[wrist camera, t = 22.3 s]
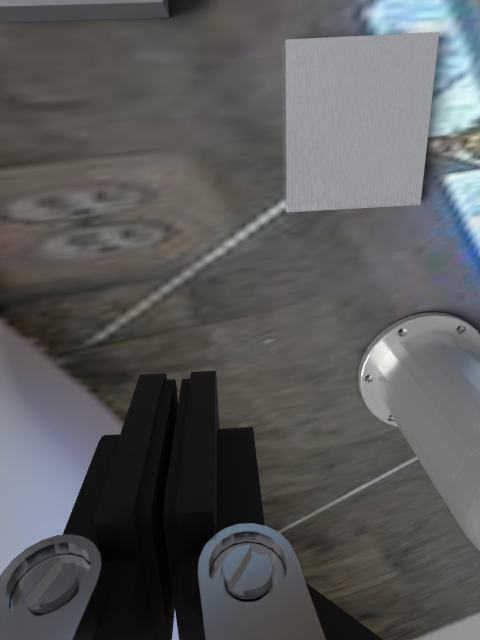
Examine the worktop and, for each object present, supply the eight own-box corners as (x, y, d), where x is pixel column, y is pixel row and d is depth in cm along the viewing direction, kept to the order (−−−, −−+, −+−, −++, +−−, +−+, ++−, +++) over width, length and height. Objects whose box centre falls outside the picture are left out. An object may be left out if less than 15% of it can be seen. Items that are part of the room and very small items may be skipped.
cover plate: (281, 44, 33) (427, 38, 33) (283, 208, 37) (410, 201, 38) (285, 39, 31) (439, 32, 31) (286, 212, 36) (420, 204, 36)
